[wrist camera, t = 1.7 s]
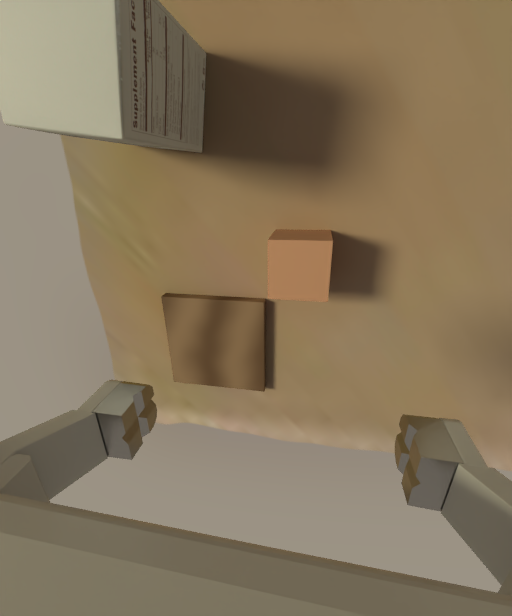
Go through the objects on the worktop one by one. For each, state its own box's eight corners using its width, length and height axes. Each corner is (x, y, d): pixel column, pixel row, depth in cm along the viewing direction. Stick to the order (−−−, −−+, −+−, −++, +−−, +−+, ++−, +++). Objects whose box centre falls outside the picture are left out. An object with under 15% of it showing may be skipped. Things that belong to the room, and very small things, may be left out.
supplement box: (127, 144, 28) (-4, 125, 17) (123, 42, 25) (-42, -69, 13) (204, 156, 27) (122, 143, 16) (210, 51, 24) (113, -58, 13)
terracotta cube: (330, 230, 28) (332, 241, 23) (326, 282, 30) (327, 301, 25) (275, 229, 29) (267, 239, 24) (275, 280, 31) (267, 298, 26)
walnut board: (265, 298, 31) (263, 302, 31) (265, 386, 36) (264, 391, 35) (165, 293, 33) (161, 296, 32) (177, 376, 38) (174, 381, 37)
